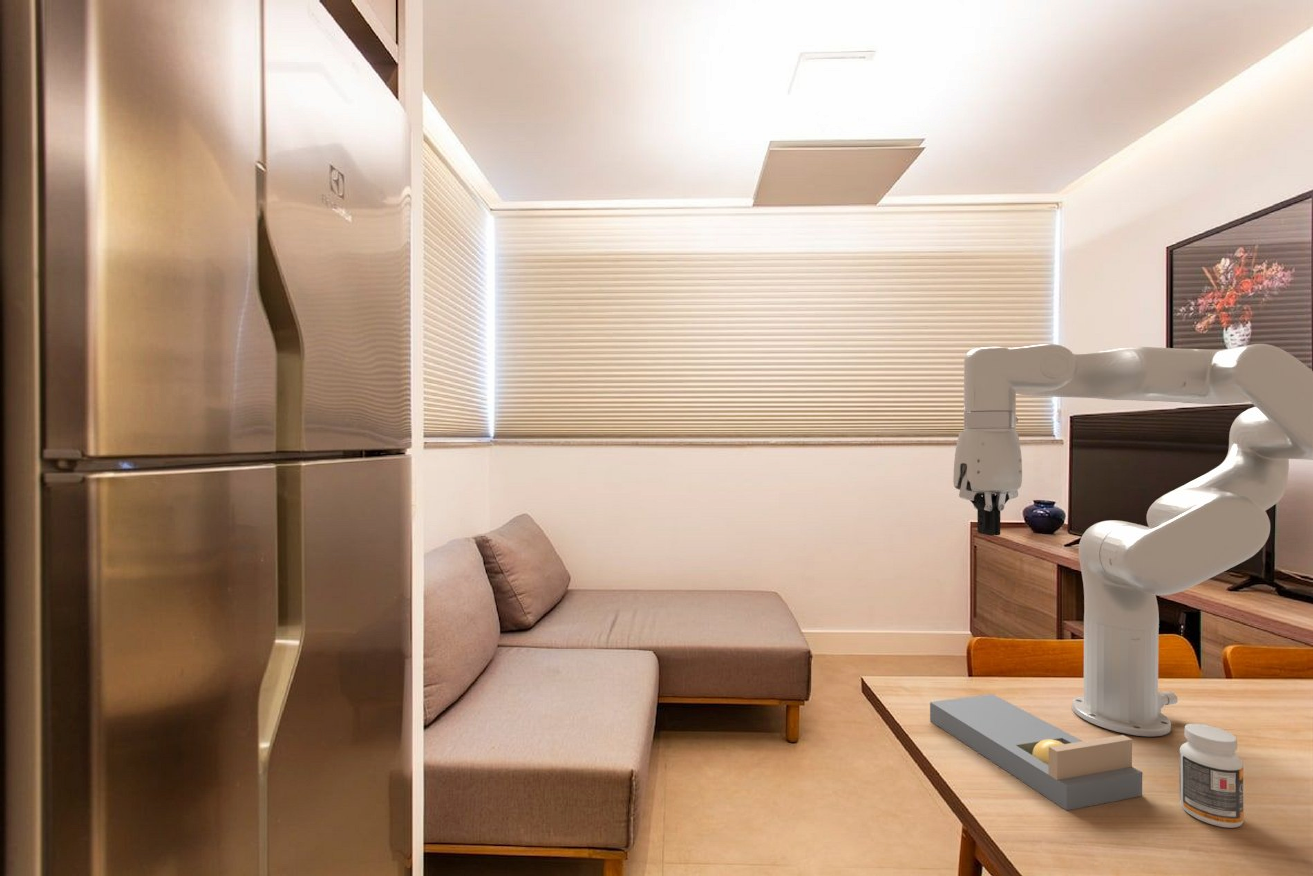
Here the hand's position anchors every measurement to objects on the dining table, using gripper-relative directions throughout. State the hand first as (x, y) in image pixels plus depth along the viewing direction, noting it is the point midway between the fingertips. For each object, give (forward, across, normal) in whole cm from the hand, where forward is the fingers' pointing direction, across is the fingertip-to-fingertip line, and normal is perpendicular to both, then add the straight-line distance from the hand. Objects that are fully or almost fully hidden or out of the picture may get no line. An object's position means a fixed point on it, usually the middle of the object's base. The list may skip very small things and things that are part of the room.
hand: (988, 534), depth 101 cm
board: (+29, +6, +13) cm, 32 cm away
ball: (+27, +7, +19) cm, 34 cm away
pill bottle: (+29, -4, +30) cm, 42 cm away
